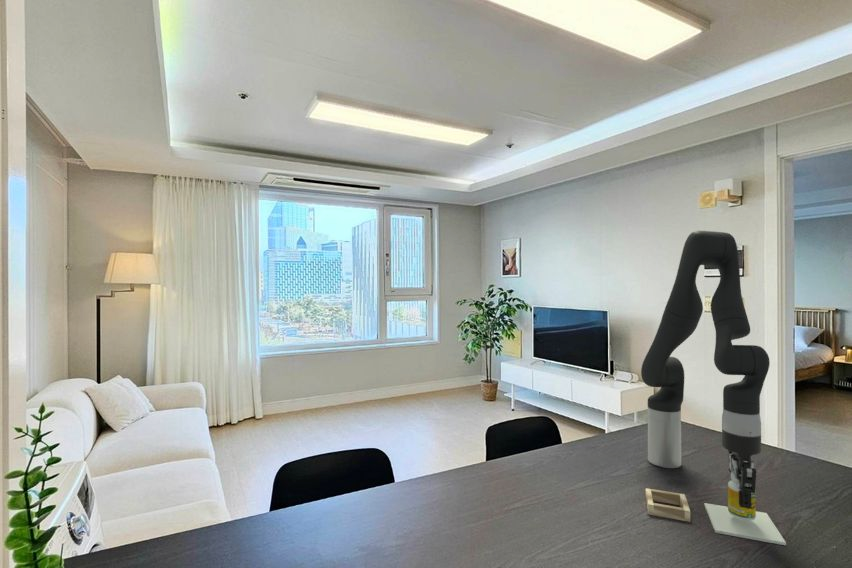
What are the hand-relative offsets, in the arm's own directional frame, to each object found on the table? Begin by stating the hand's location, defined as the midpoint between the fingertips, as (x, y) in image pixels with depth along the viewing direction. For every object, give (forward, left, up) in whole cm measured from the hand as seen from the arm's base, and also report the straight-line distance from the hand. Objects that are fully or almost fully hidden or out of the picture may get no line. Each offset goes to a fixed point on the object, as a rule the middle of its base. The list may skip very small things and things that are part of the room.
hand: (741, 500), depth 103 cm
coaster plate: (0, 0, -5) cm, 5 cm away
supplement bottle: (0, 0, -4) cm, 4 cm away
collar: (-1, -15, -5) cm, 16 cm away
